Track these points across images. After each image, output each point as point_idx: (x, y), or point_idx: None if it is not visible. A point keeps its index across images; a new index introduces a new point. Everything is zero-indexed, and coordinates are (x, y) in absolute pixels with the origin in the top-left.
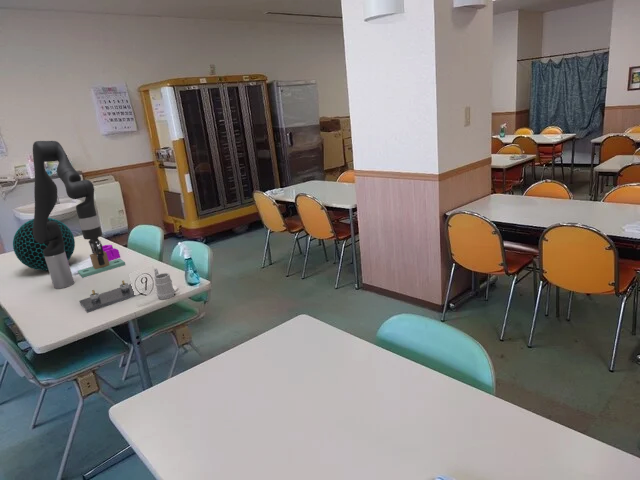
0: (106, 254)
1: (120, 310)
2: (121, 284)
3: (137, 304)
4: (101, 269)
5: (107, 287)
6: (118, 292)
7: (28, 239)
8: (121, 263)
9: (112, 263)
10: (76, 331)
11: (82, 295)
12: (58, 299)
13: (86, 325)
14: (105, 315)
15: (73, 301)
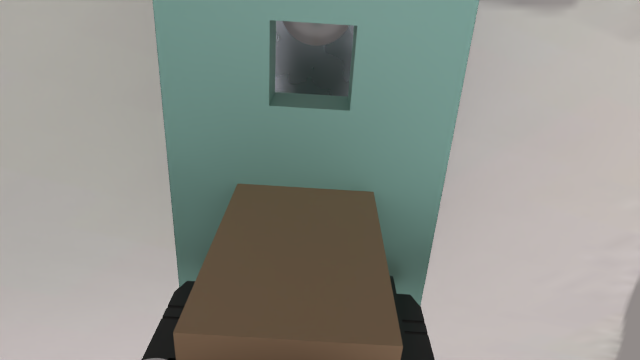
0: (395, 315)
1: (583, 143)
2: (285, 21)
3: (620, 28)
4: (419, 299)
5: (32, 53)
6: (302, 58)
7: None
8: (469, 36)
9: (331, 139)
10: (582, 357)
11: (66, 215)
12: (22, 313)
13: (568, 315)
14: (552, 223)
15: (135, 273)
